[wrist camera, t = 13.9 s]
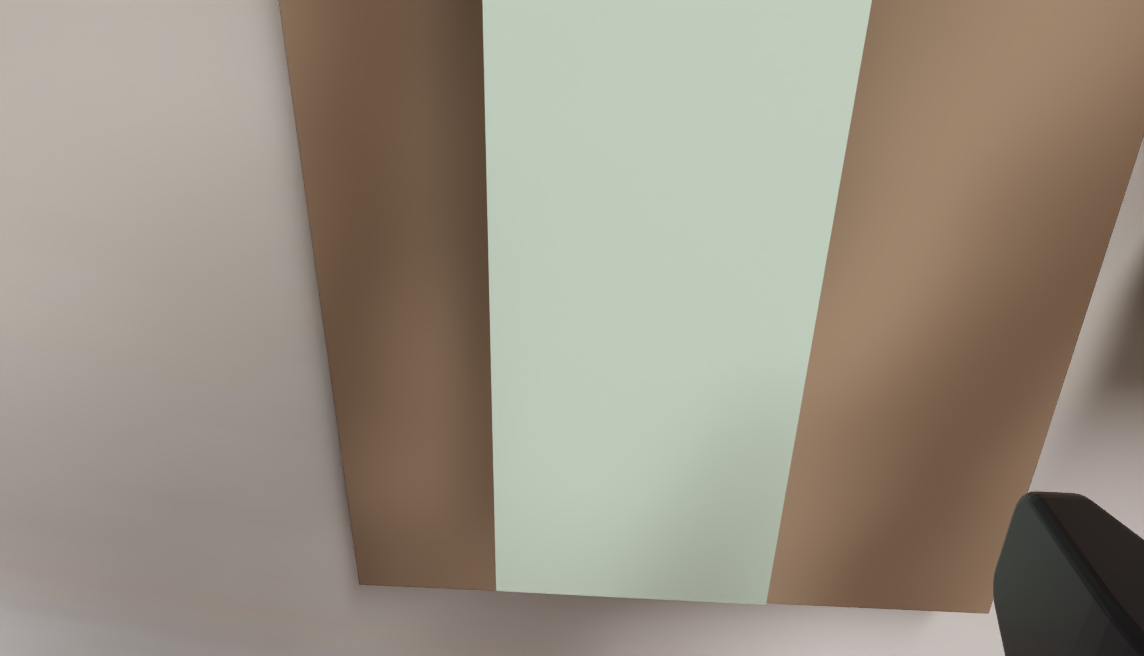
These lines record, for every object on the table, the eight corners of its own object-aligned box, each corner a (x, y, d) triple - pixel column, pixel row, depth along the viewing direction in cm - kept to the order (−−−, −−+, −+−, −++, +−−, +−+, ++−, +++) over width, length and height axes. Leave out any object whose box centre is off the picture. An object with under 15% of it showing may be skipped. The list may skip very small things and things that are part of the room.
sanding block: (527, 379, 20) (496, 591, 15) (527, -368, 14) (472, -391, 9) (734, 388, 20) (765, 605, 15) (832, -360, 14) (937, -377, 9)
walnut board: (373, 537, 25) (359, 584, 23) (181, -1018, 12) (126, -1103, 10) (969, 564, 24) (988, 614, 23) (1448, -1032, 11) (1553, -1122, 10)
